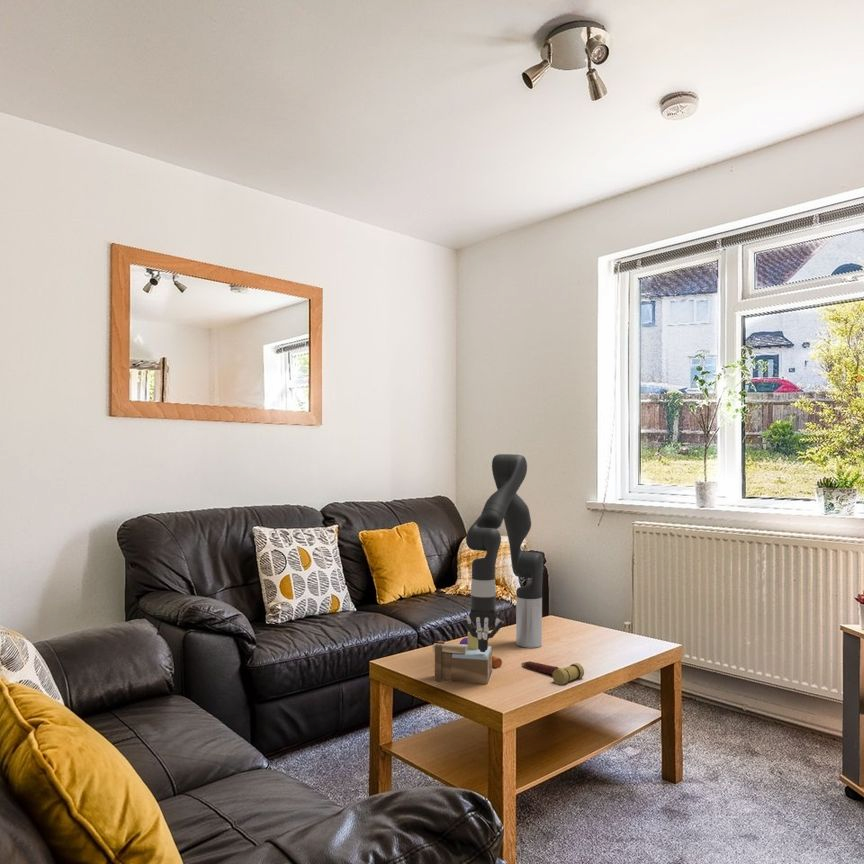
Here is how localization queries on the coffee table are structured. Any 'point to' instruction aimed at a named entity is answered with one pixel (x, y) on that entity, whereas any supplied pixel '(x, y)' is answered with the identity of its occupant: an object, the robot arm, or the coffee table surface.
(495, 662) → the kendama
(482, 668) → the toolbox
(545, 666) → the gavel
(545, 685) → the coffee table surface
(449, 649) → the beige wooden bar
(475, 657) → the lid
